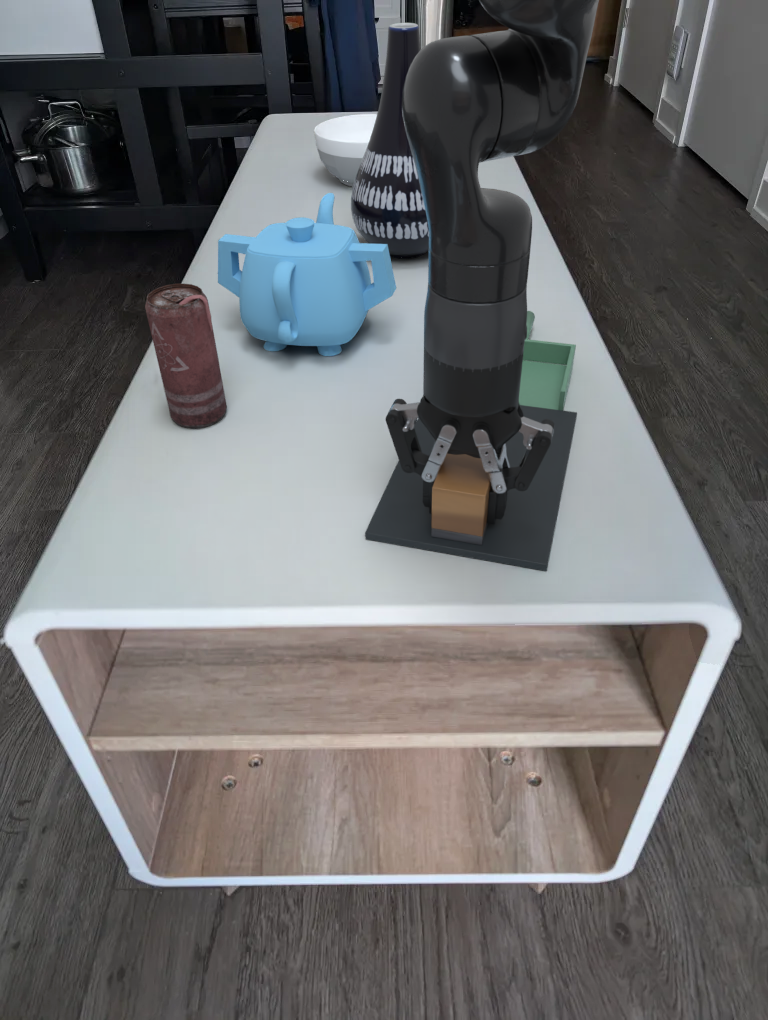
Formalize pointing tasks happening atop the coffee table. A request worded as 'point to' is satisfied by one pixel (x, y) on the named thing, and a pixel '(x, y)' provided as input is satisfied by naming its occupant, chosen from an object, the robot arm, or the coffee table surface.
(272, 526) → the coffee table surface
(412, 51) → the vase
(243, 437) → the coffee table surface
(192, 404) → the can
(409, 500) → the slate
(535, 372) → the dustpan
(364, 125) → the bowl
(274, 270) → the teapot
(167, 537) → the coffee table surface
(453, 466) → the eraser
